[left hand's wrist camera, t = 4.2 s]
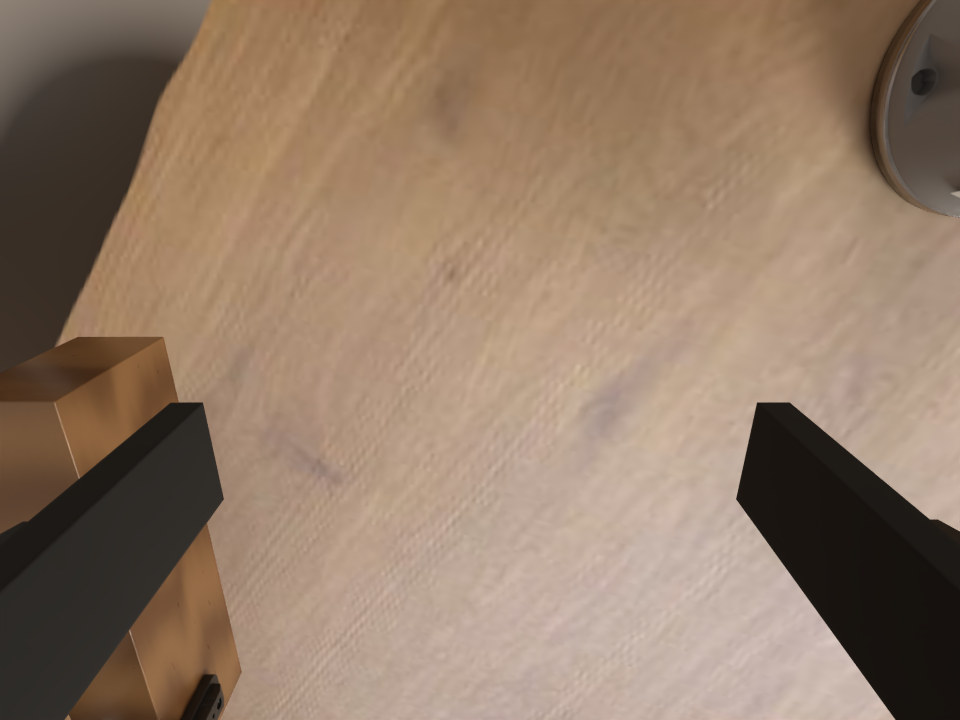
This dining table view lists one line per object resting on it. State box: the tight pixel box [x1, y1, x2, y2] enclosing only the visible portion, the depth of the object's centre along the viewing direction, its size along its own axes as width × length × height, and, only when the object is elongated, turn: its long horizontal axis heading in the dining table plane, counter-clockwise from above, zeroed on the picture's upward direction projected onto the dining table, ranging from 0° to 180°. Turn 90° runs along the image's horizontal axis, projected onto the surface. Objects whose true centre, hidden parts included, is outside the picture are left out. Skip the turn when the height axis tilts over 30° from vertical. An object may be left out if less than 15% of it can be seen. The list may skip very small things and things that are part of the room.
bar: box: [0, 337, 242, 720], centre depth 31 cm, size 27×5×8 cm, turn 0°
